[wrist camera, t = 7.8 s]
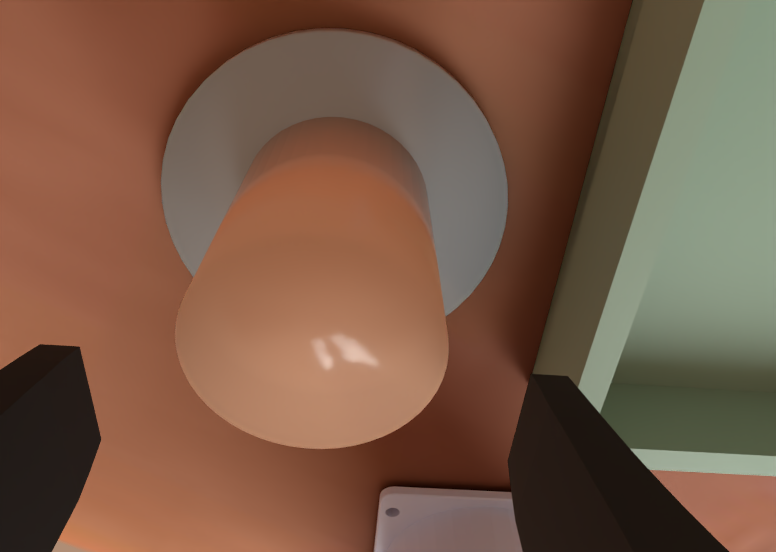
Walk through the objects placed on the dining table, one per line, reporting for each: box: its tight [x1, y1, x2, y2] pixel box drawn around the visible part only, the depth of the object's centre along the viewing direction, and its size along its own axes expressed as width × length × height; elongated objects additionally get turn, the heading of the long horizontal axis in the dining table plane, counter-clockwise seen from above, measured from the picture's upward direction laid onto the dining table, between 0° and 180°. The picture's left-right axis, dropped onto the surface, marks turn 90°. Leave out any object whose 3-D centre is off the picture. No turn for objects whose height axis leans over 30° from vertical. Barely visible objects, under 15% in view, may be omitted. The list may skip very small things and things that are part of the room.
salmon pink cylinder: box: [175, 117, 449, 449], centre depth 13 cm, size 5×5×6 cm
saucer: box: [161, 28, 508, 317], centre depth 16 cm, size 9×9×1 cm
